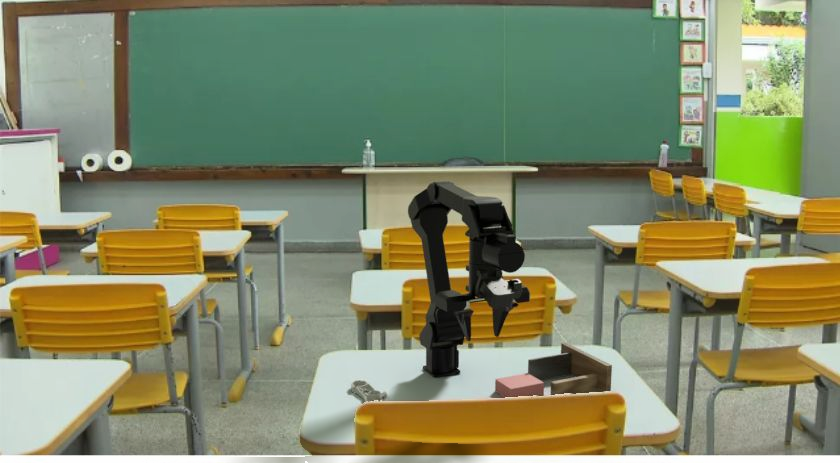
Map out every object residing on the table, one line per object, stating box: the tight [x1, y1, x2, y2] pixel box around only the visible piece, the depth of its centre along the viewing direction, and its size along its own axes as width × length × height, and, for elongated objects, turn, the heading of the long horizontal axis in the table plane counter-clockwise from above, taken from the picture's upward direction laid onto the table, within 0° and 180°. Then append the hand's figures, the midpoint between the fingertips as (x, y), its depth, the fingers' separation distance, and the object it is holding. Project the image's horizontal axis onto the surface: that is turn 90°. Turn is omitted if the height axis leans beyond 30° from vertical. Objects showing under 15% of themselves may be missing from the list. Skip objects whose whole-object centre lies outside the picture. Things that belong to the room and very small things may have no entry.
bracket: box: [351, 379, 388, 403], centre depth 154 cm, size 8×2×15 cm
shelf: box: [527, 342, 613, 395], centre depth 161 cm, size 12×16×6 cm
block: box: [494, 372, 545, 398], centre depth 157 cm, size 8×6×3 cm
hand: (482, 338), depth 151 cm, fingers open, 6 cm apart
